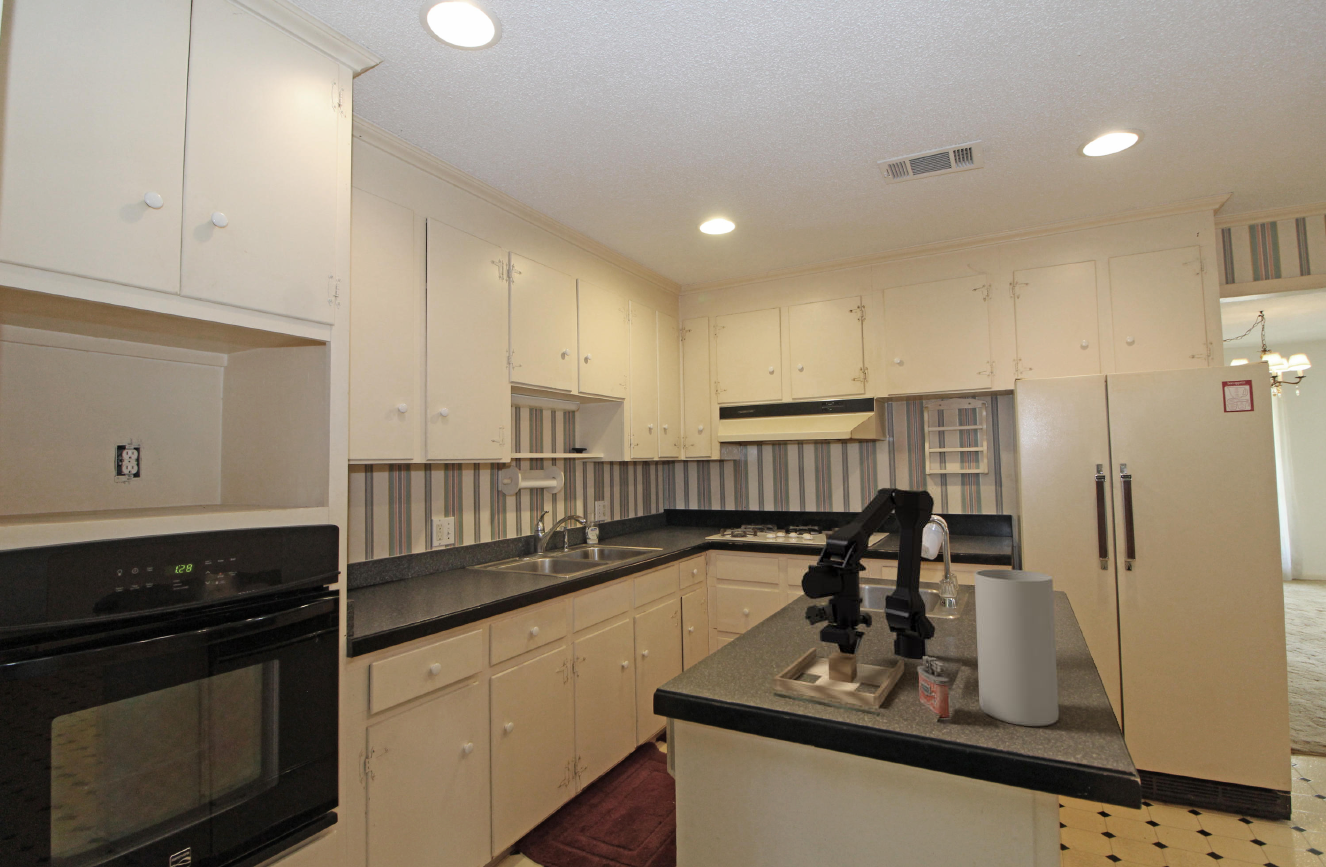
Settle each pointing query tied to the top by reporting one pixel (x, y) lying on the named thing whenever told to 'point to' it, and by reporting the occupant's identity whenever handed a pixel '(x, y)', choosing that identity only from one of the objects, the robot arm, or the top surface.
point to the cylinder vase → (1016, 646)
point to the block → (842, 667)
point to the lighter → (934, 688)
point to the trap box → (837, 683)
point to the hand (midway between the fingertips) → (847, 667)
